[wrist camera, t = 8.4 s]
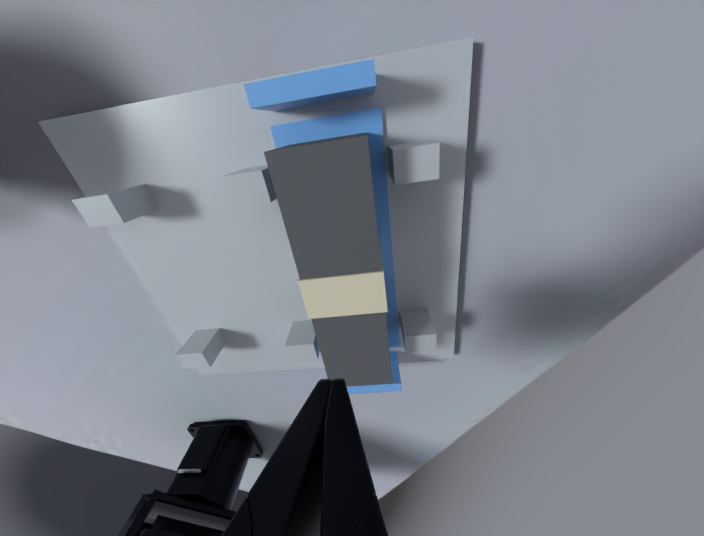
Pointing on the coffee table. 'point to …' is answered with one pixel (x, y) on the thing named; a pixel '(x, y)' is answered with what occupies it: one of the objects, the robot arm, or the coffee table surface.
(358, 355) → the gray banded bar
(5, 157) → the coffee table surface
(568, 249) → the coffee table surface
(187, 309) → the block model on plate
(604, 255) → the coffee table surface
